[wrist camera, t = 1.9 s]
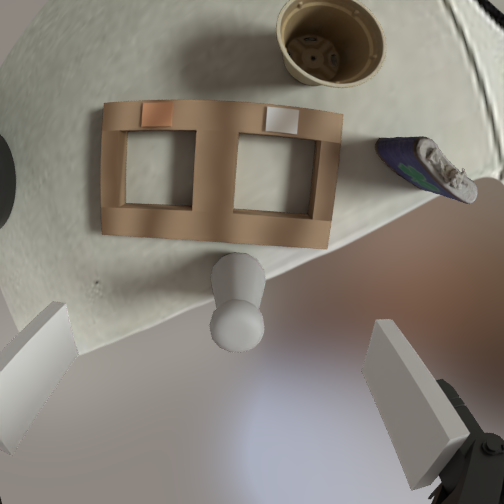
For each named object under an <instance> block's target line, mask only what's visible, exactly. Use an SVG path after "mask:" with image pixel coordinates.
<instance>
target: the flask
mask: <svg viewBox="0 0 504 504" xmlns="http://www.w3.org/2000/svg"><path fill="white" fill-rule="evenodd" d="M375 150H376V152H377V154H378V155H379V157H380V158H381V160H383V161H384V162H385V163H386V165H387V166H388V167H390V168H391V170H393V171H394V172H396V173H397V174H398V175H399V176H401V177H403V178H404V179H406V180H407V181H409V182H411V183H412V184H413V185H415V186H417V187H419V188H421V189H423V190H425V191H430V192H433V193H436V194H440V195H443V196H446V197H449V198H452V199H455V200H458V201H460V202H463V203H466V204H471V203H472V202H474V200H475V199H476V197H477V186H476V185H475V183H474V182H473V181H472V180H471V179H469V178H467V177H466V176H467V174H466V172H465V169H464V168H462V172H460V171H459V170H458V169H457V168H456V167H455V166H454V165H452V163H451V162H450V161H448V159H447V158H446V157H445V156H444V155H443V153H442V152H441V150H440V149H439V148H438V146H437V144H436V143H435V142H434V141H433V140H432V139H429V138H427V137H423V136H422V137H404V138H403V137H395V138H379V140H378V141H377V143H376V144H375Z"/></svg>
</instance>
